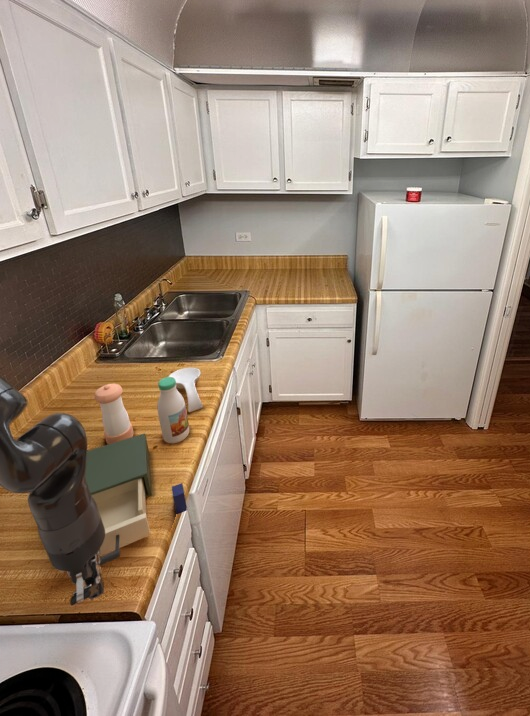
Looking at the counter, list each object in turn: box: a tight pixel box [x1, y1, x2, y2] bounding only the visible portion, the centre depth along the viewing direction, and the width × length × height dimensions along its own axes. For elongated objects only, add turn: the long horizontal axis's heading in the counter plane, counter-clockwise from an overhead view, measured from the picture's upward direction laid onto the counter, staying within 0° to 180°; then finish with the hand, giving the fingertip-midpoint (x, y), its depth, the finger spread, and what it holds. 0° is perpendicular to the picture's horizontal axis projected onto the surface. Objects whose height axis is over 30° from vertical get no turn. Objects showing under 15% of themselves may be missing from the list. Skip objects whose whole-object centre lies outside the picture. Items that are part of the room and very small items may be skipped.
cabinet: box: [85, 432, 153, 499], centre depth 85 cm, size 15×18×8 cm
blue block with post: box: [171, 482, 188, 515], centre depth 82 cm, size 2×7×6 cm, turn 27°
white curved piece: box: [168, 366, 204, 413], centre depth 121 cm, size 24×12×7 cm, turn 32°
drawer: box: [60, 477, 151, 574], centre depth 73 cm, size 18×16×6 cm
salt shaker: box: [94, 383, 135, 445], centre depth 98 cm, size 7×7×19 cm
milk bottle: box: [156, 376, 190, 444], centre depth 99 cm, size 8×8×20 cm
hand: (97, 592), depth 60 cm, fingers closed
